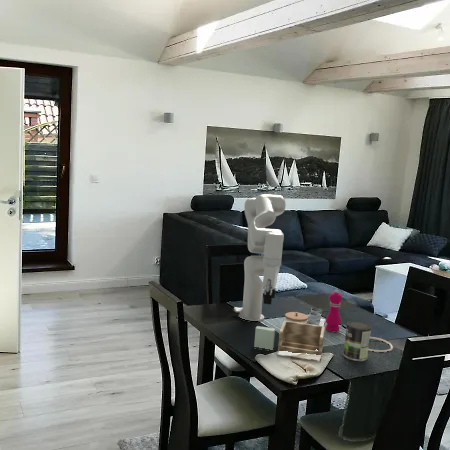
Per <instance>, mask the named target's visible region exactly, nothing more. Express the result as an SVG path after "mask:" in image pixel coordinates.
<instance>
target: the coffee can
mask: <svg viewBox="0 0 450 450" xmlns="http://www.w3.org/2000/svg"><path fill="white" fill-rule="evenodd" d="M345 325H346V327H345V328H346V329H345V336H344V337H345V338H344V345H343V352H342V355H343V356H344V357H345V358H346V359H347V360H351V361H356V362H364V361H366V360H368V357H369V351H368V349H370V348H369V347H370V340H371V339H370V337H371V333H370V332H371V330H372V325H371V324H369V323H368V322H364V321H362V320H361V321H359V320H349V321H347V322H346V324H345Z"/></svg>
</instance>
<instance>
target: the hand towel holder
mask: <svg viewBox="0 0 450 450" xmlns="http://www.w3.org/2000/svg"><path fill="white" fill-rule="evenodd" d="M370 334H371V332H370ZM370 340H373V341H378V342H382V341H383V343H384V344H387V345H388V344H389V345H388V346H389V347H390V348H389V349H384V350H383V349H382V350H380V349H372V348H368V352H372V351H374V352H373V353H379V352H384V353H388V352H387V351H389V352H391V351H393V350H394V346H393V345H392V343H391V342H390V341H387V340H385V339H383V338H380V337H374V336H370Z"/></svg>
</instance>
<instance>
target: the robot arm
mask: <svg viewBox="0 0 450 450" xmlns="http://www.w3.org/2000/svg"><path fill="white" fill-rule="evenodd" d="M286 203H287V202H286V199H285V198H284V197H283V196H282V195H278V194H267V193H266V194H259V195H257V196H256V197H250V198H247V199H246V200H245V202H244V207H243V209H244V215H245V219H246V222H247V249H248V251H249V252H250V253H253V254H263V255H250V256H247V257H245V259H244V260H243V261H244V262H243V266H244V267H243V269H244V285H243V298H242V299H243V300H242V307H236V306H234V308H233V311H234V312H235V313H239V314H238V318H239V317H240V318H242V319H245V320H250V321H258V322H262V321H263V320H265V316H264V314H262V311H263V310H262V308H263V304H264V305H272V300H273V299H275V297H276V296H275V295H276V286H277V282H278V276H279V273H280V269H281V268H280V267H281V266H282V258H283V257H282V255H283V247H284V244H283V243H284V241H285V240H284V239H285V238H284V237H285V236H284V233H283V232H282V230H281V229H276V228H267V227H269V226H271V225H273V224H274V222H275V221H276V219H277V217H278V216H281V215H282V214H283V213H284V212H285V211H286V206H287V205H286ZM261 276H263V279H261ZM264 289H265V290H264ZM240 318H239V319H240ZM242 319H241V320H242ZM245 320H244V321H245ZM250 321H249V322H250Z"/></svg>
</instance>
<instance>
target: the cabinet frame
mask: <svg viewBox="0 0 450 450" xmlns="http://www.w3.org/2000/svg"><path fill="white" fill-rule="evenodd" d="M325 330H326V325H325V326H323V325H317V324H309V323H307V324H304V323H297V322H290V321H285V320H283V322H282V325H281V327H280V330H279V334H278V344H277V345H278V346H277V352H278V351H288V352H292V353H307V354H316V355H321V354H322V355H323V349H324V339H325V333H326V332H325ZM316 349H317V350H318V351H315V350H316Z"/></svg>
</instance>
